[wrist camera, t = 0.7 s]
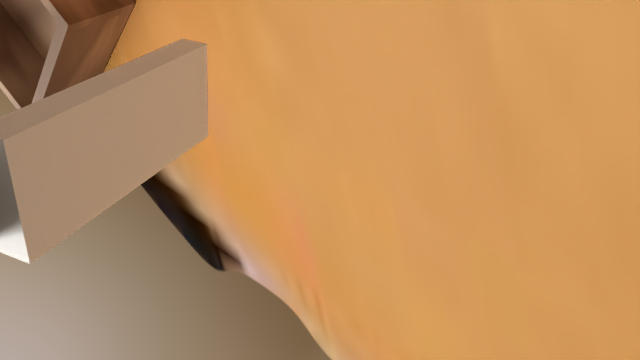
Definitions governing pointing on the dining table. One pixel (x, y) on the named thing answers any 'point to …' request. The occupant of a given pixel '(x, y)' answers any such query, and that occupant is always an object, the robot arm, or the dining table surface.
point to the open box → (56, 44)
